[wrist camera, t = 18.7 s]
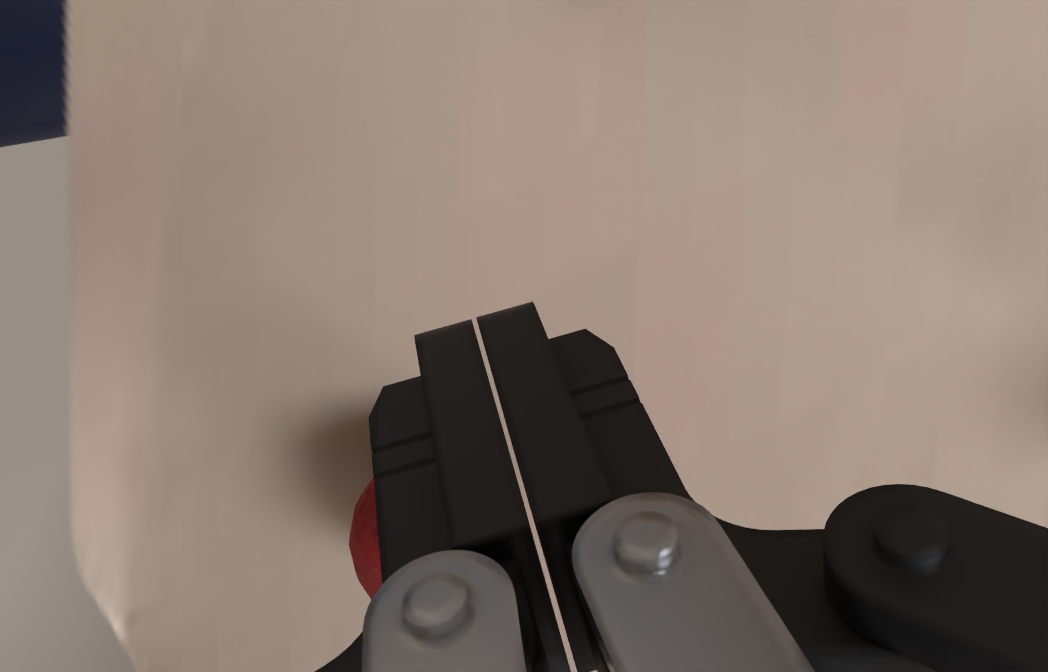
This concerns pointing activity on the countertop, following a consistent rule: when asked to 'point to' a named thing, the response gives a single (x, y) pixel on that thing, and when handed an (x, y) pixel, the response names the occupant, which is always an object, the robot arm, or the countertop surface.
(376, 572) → the onion
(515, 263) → the countertop surface
